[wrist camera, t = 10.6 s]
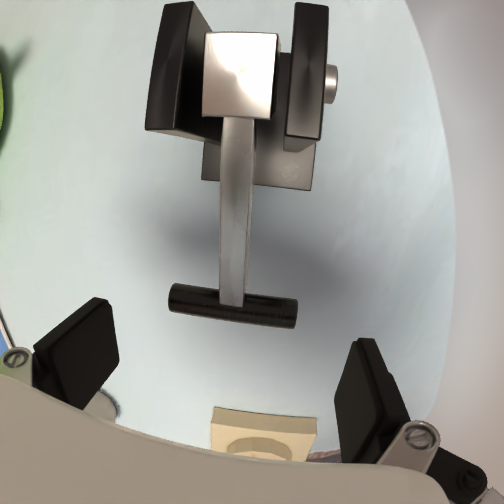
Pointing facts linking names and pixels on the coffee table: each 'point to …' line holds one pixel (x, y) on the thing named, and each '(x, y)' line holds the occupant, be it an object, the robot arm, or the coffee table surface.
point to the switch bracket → (269, 131)
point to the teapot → (1, 102)
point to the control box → (262, 435)
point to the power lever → (237, 175)
